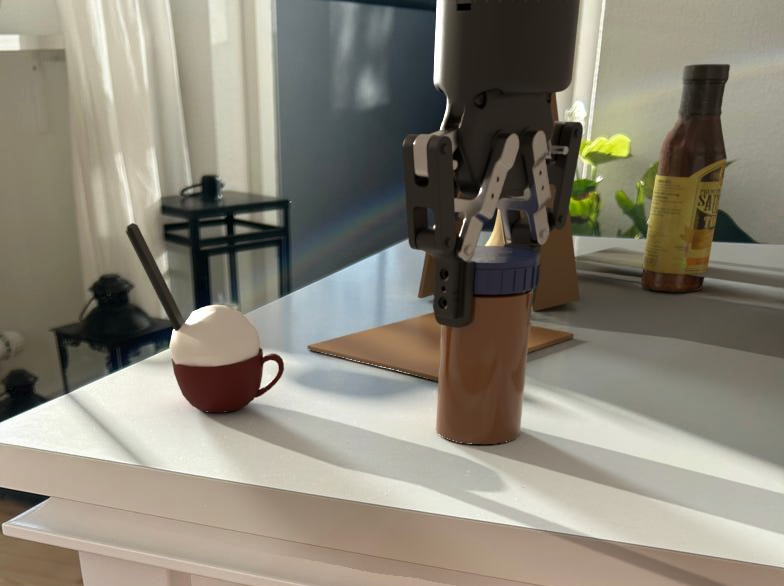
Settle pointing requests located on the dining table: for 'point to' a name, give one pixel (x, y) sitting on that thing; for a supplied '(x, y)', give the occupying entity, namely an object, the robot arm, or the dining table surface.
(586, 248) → the dining table surface
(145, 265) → the cocoa
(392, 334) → the mat
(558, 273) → the photo frame
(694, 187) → the sauce bottle
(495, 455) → the dining table surface
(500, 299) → the jar
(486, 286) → the lid
